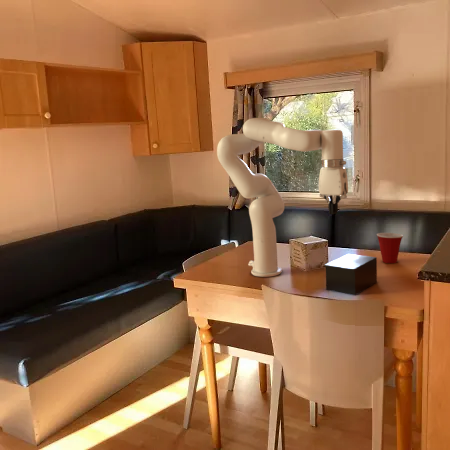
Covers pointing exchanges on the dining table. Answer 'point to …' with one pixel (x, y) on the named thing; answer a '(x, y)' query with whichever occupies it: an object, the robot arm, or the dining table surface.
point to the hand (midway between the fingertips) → (333, 213)
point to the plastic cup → (389, 246)
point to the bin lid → (350, 262)
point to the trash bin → (351, 279)
